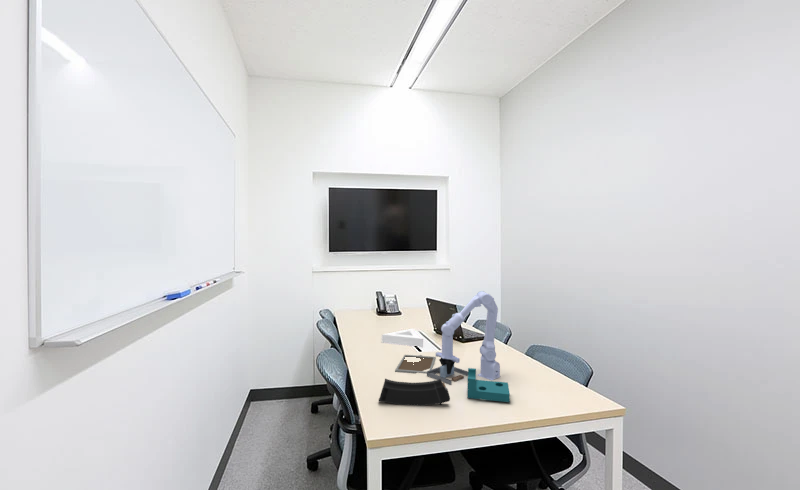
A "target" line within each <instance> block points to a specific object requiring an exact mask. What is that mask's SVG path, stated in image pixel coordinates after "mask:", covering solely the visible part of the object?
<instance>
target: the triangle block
mask: <svg viewBox="0 0 800 490" xmlns="http://www.w3.org/2000/svg"><path fill="white" fill-rule="evenodd" d="M381 343H382V344H389V345H398V346H406V345H407V346H406V347H414V346H419V347H418V348H424V338H423V337H422V336H421V335H420V334H419V333H418V332H417V331H416V329H415V328H414V327H413V328H408V329H403V330H398V331H393V332H388V333H382V334H381Z"/></svg>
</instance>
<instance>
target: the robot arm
mask: <svg viewBox="0 0 800 490" xmlns="http://www.w3.org/2000/svg"><path fill="white" fill-rule="evenodd" d="M482 306H483V307H484V308H485V309H486V311H487V313H486V319H485V320H486V321H485V328H484V336H483V337H484V338H483V341H482V342H481V346H480V347H479V353H480V370H479V371H480V373H478V374H476V377H480V378H484V379H486V380H488V381H494V380H496V379H498V378H500V377H501V365H500V363H499V362H498V361H496V357H497V353H496V345H495V336H496V326H497V319H498V312H499V308H498V305H497V303H496V301H495V298H494V297H493V296H492V295H491V294H490V293H487V292H485V291H484V290H481V291H478V292H477V293H476V294H475V295H474V296H473V297H472V298H471V299H470V300H469V301H468V303H467V304H466V305H465V306H464V307H463V308H462V310H461V311H460V312H455V313H453V314H452V315H451V318H449V320H448V321H445V323H444V324H442V325H441V327H440V331H441V332H442V333H441V352H439V351H437V352H435V357H436V358H438V357H439V359H438V360H439V363H440V366H443V365H445V364H446V365H447V374H451V370H452V367H453V365H454V366H455V363H456V364H457V363H460V361H461V360H460V358H459V357H457V356H455V355H454V350H453V349H454V339H453V336H454V334H455V331H456V330H457V329H458V328H459V327H460V326H461V325H462V324H463V323H464V322H465V317H466V316H468V314H469V313H471V312H472V311H473V310H474V309H475V308H478V307H479V308H480V307H482Z"/></svg>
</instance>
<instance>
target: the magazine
mask: <svg viewBox="0 0 800 490" xmlns="http://www.w3.org/2000/svg"><path fill="white" fill-rule="evenodd" d="M450 401H451V397H450V393H449V389H448V388H447V386H446V383H444V382H442V381H441V379H439V380H436V379H433V380H430V381H423V382H421V381H420V382H419V381H418V382H407V381H396V380H390V379H387V378H384V382H383V385H382V389H381V392H380V395H379V398H378V402H379V403H380V402H383V403H388V404H395V405H401V406H402V405H403V406H418V407H419V406H420V407H421V406H430V405H431V406H432V405H440V406H442V404H443V403H448V402H450Z"/></svg>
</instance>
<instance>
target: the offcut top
mask: <svg viewBox="0 0 800 490" xmlns="http://www.w3.org/2000/svg"><path fill="white" fill-rule="evenodd" d="M464 376H465V375H463V374H458V375H456V376H453V377H451V380H452V382H457V381H460V380H463V379H465V377H464Z"/></svg>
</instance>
